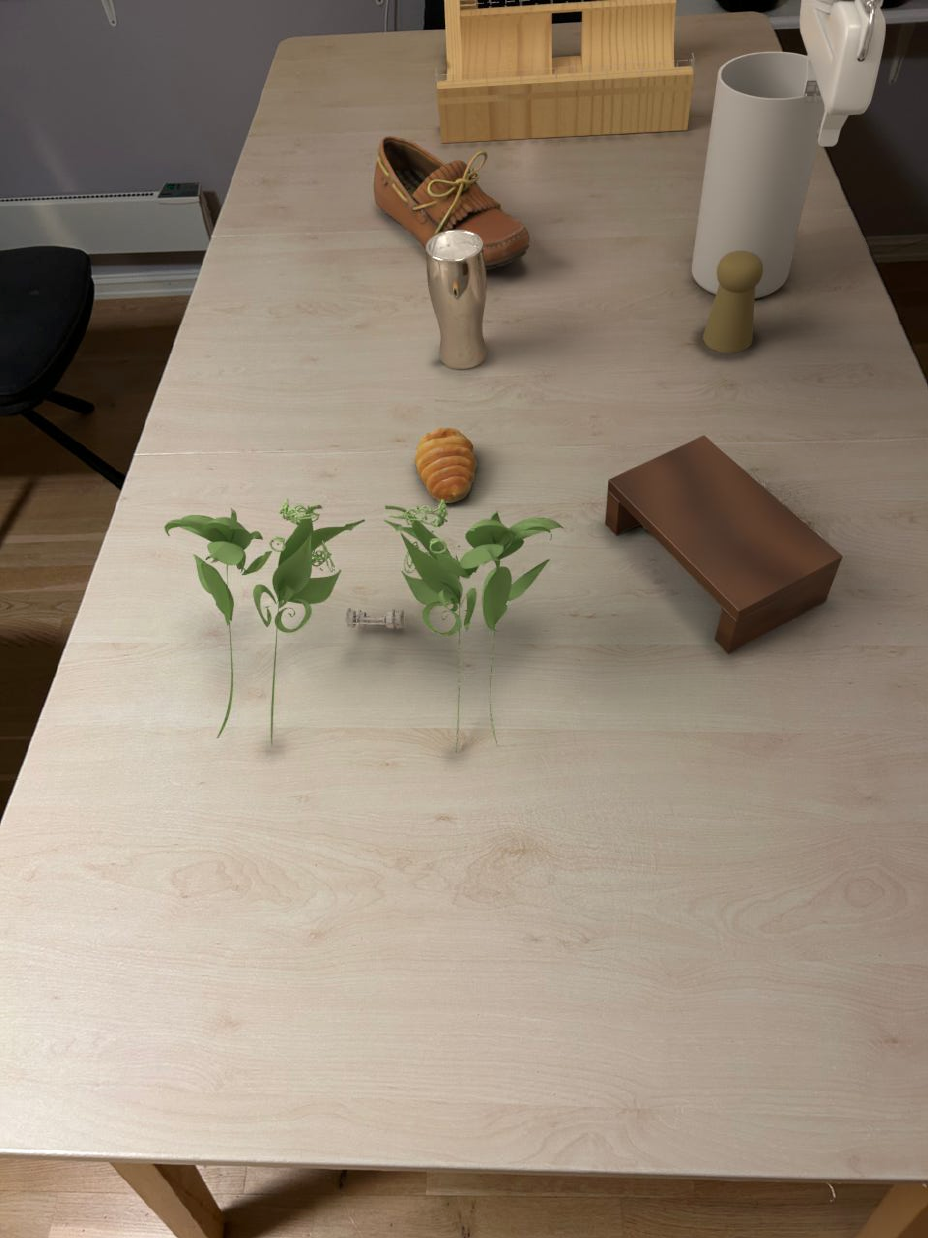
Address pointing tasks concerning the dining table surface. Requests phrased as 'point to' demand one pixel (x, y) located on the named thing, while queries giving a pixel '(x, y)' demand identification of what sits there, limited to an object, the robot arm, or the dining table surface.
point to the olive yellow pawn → (734, 303)
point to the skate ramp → (561, 72)
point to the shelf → (726, 537)
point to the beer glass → (458, 296)
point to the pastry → (446, 464)
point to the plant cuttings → (432, 568)
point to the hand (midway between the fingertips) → (818, 120)
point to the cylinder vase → (756, 166)
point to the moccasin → (443, 200)
